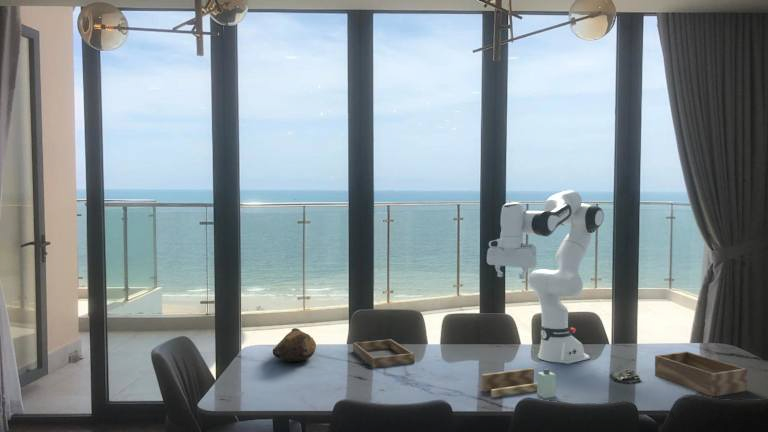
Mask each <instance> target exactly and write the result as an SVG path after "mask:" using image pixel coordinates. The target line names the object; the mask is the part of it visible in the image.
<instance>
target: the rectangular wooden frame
mask: <svg viewBox="0 0 768 432" xmlns="http://www.w3.org/2000/svg"><path fill="white" fill-rule="evenodd" d="M385 349H386V350H388V349H390V350H392V351H394V352H395V353H397V354H393V355H385V356H384V355H383V356H373V355H372V354H371V353H369V351H378V350H379V351H380V350H385ZM352 352H353V353H354V354H355V355H356V356H358V357H359V358H360V359H362V360H363V361H364V362H366V363H367V364H368V365H369V366H371V367H372V368H381V367H391V366H399V365H406V364H407V365H408V364H415V353H414V352H413V351H411V350H409V349H408V348H406V347H404V346H403V345H401V344H400V343H398V342H397V341H395V340H393V339H392V338H391V339H390V338H389V339H381V340H380V339H379V340H371V341H370V340H369V341H362V342H361V341H360V342H353V343H352Z"/></svg>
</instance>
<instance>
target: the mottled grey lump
mask: <svg viewBox="0 0 768 432" xmlns="http://www.w3.org/2000/svg"><path fill="white" fill-rule="evenodd" d="M640 376H641V375H638V373H636V372H635V371H634V370H633V369H631V370H630V369H628V368H627V369H625V370H624V371H614V372H612V371H611V373H609V378H610V380H611V381H613V382H615V383H620V384H623V385H628V384H629V385H633V384H638V383H639V384H640V382H641V381H640V379H641V378H640Z"/></svg>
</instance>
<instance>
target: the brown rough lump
mask: <svg viewBox="0 0 768 432" xmlns="http://www.w3.org/2000/svg"><path fill="white" fill-rule="evenodd" d="M316 350H317V345H316V341H315V340H314V338H313V337H312V336H310V334H309V333H306V332H304V331H302V330H301V329H299V328H297V327H294V328H292V329H291V331H290V332H289V333H287V334H286V335H284V337H283V338H282V339H281V340H280V341H279V342H278V343H277V345H276V346H275V347H273V349H272V354H273V356H274V357H276V358H277V359H283V361H285V362H287V363H288V362H289V363H290V362H292V363H294V362H300V361H305V360H308V359H310V358H311V357H312V356H313V355H314V353H315V351H316Z"/></svg>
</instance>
